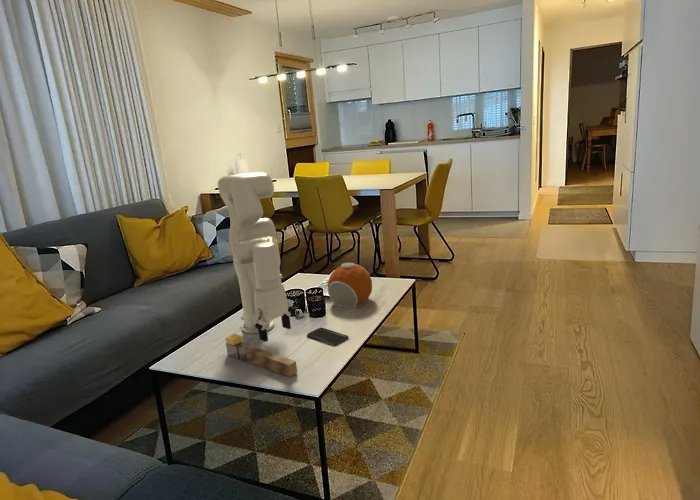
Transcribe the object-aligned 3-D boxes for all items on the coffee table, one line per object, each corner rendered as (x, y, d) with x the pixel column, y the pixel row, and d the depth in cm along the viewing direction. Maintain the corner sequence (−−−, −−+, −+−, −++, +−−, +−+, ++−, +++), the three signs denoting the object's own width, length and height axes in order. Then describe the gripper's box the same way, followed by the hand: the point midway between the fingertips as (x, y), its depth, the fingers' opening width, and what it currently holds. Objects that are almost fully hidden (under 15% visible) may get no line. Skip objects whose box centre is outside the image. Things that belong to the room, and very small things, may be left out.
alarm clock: (380, 297, 207) (377, 259, 202) (360, 312, 192) (357, 271, 188) (343, 293, 217) (340, 256, 212) (321, 306, 202) (317, 268, 198)
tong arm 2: (251, 359, 160) (249, 348, 159) (254, 357, 161) (253, 346, 160) (293, 374, 147) (292, 363, 146) (297, 372, 148) (295, 361, 147)
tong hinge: (226, 355, 164) (224, 343, 163) (236, 350, 168) (234, 338, 167) (245, 362, 158) (243, 350, 157) (255, 357, 161) (253, 344, 160)
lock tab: (226, 342, 163) (225, 337, 163) (234, 338, 166) (234, 333, 165) (233, 345, 161) (232, 340, 160) (242, 341, 163) (241, 335, 163)
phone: (320, 327, 179) (349, 336, 169) (321, 329, 180) (350, 339, 170) (305, 334, 174) (334, 344, 164) (305, 337, 174) (334, 347, 164)
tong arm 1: (247, 361, 158) (245, 350, 157) (251, 359, 159) (249, 348, 158) (290, 376, 146) (288, 365, 145) (293, 374, 147) (292, 363, 146)
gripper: (281, 272, 152) (287, 321, 157) (238, 290, 139) (246, 342, 144) (297, 275, 148) (303, 326, 152) (255, 294, 135) (262, 348, 140)
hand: (275, 334), depth 148 cm, fingers open, 9 cm apart
